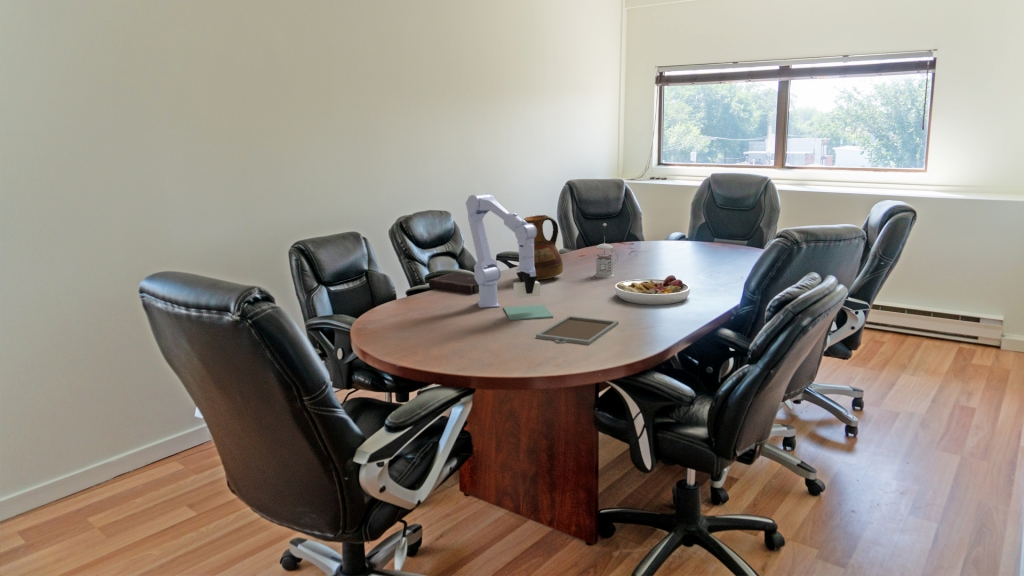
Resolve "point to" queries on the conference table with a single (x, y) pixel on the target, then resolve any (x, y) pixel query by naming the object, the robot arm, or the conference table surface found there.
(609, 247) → the french press
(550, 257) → the ceramic pitcher
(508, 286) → the conference table surface
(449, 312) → the conference table surface
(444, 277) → the diary
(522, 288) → the card box
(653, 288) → the bowl
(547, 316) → the mat
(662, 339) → the conference table surface
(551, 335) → the picture frame
